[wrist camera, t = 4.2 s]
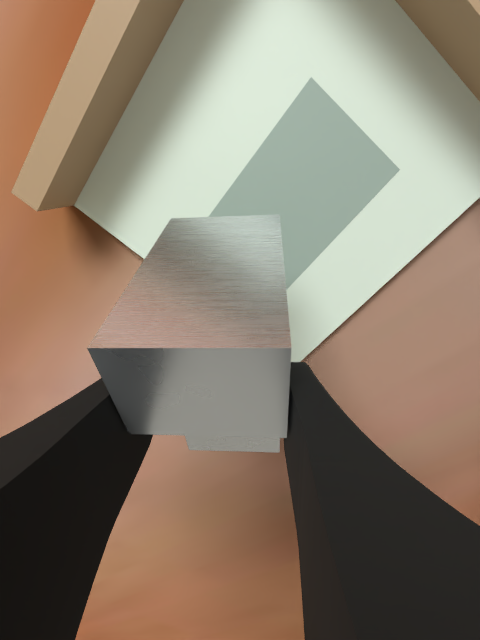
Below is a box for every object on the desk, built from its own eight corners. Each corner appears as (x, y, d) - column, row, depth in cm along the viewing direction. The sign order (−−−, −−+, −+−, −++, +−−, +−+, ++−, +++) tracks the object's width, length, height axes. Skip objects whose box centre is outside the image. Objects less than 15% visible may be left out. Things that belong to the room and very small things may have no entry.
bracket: (277, 381, 17) (282, 531, 11) (203, 380, 17) (173, 525, 12) (279, 214, 11) (291, 347, 6) (170, 218, 12) (87, 347, 6)
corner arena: (548, 142, 14) (629, 133, 11) (296, 370, 20) (302, 407, 17) (263, -215, 11) (261, -378, 8) (60, 188, 17) (11, 192, 13)
